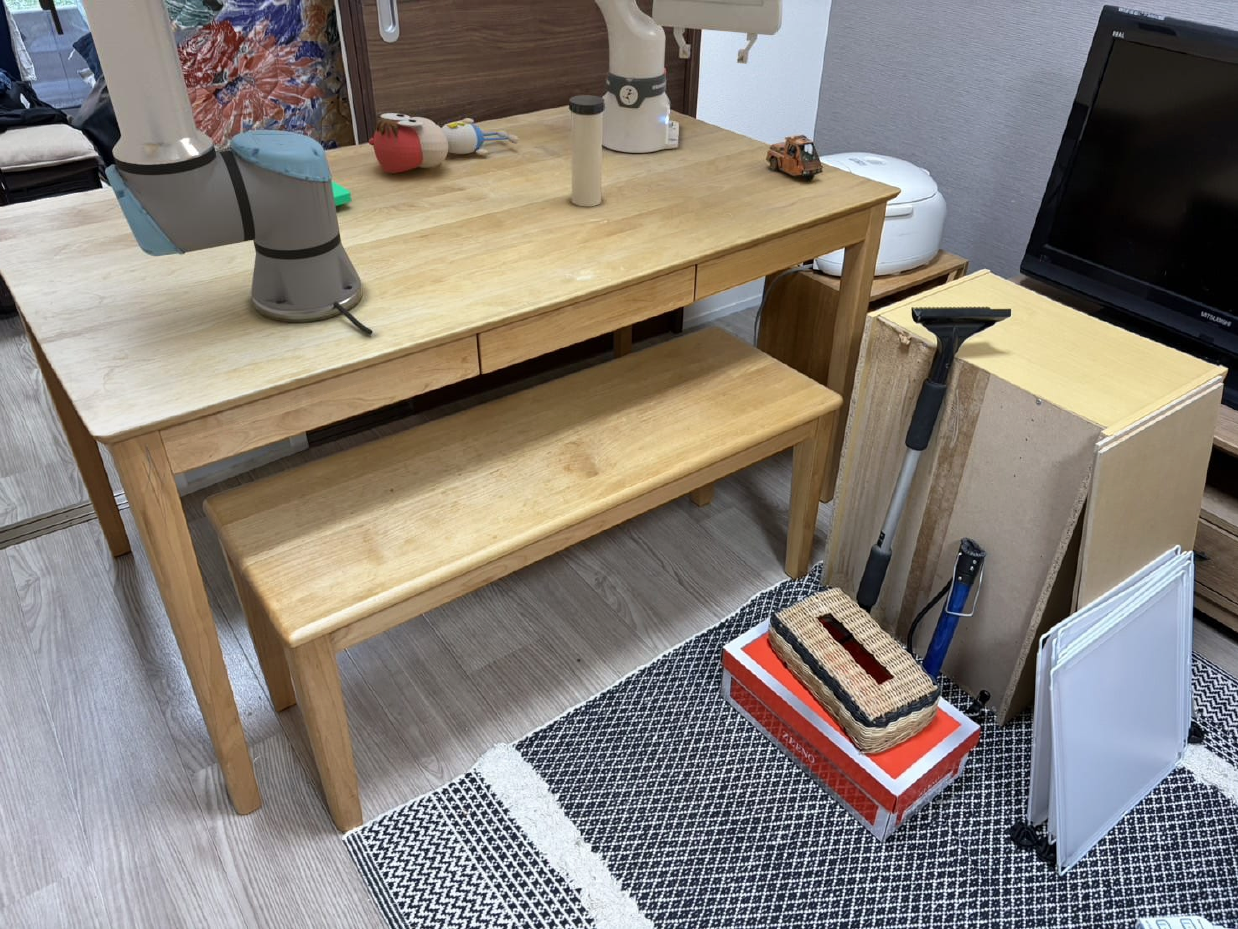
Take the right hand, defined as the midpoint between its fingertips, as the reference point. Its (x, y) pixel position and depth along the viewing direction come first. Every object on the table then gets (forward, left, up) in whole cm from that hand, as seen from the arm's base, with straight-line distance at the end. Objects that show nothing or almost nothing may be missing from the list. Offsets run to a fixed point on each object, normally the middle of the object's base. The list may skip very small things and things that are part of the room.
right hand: (713, 59), depth 149 cm
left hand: (+25, -93, +2) cm, 96 cm away
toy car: (-27, +13, -26) cm, 40 cm away
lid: (0, -21, -9) cm, 23 cm away
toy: (-12, -54, -26) cm, 61 cm away
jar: (0, -21, -26) cm, 33 cm away
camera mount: (+17, -66, -26) cm, 73 cm away
